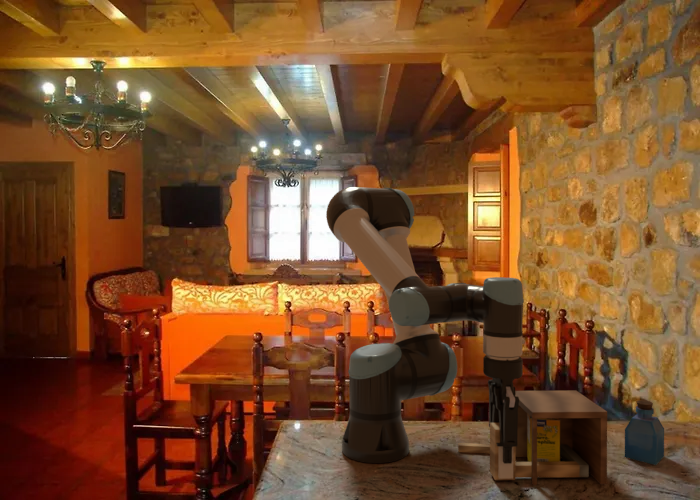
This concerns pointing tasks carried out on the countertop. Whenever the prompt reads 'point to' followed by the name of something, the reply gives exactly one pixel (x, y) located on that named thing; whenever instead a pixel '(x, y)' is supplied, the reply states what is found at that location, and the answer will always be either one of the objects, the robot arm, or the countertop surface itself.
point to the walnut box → (566, 427)
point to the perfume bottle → (644, 435)
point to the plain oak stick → (474, 448)
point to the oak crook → (569, 468)
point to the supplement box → (544, 439)
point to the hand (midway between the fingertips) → (502, 472)
